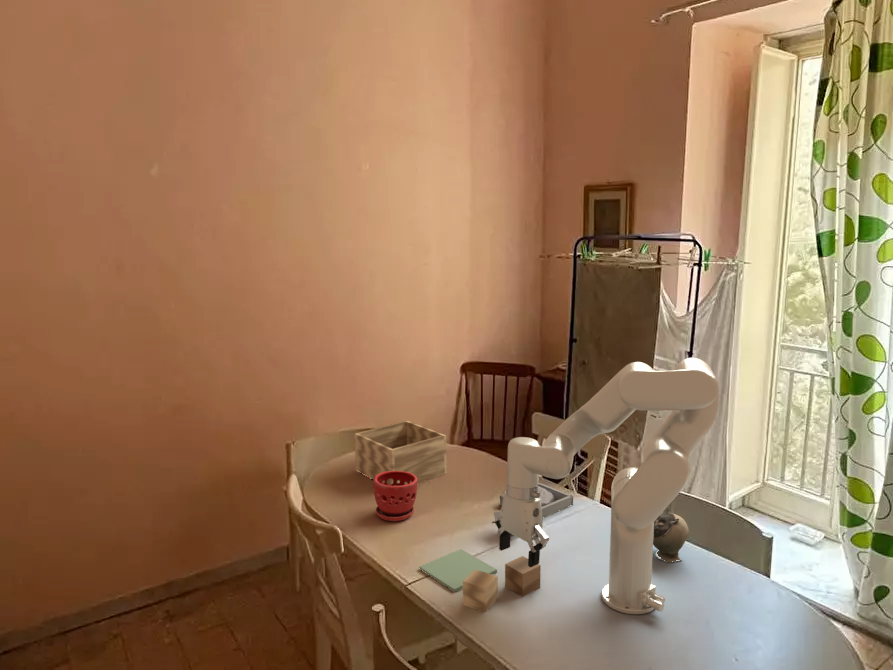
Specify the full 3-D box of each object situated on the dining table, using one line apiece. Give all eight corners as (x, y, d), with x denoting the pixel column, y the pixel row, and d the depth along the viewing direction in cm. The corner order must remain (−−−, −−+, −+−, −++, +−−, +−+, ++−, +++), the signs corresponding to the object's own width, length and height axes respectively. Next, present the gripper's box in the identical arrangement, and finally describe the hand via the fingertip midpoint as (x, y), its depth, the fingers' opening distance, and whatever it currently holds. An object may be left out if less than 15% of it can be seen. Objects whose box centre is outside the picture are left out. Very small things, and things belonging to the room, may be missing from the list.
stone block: (555, 507, 210) (531, 493, 217) (558, 494, 209) (533, 480, 215) (532, 521, 202) (507, 505, 209) (534, 508, 201) (509, 492, 207)
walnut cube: (540, 588, 162) (540, 565, 161) (522, 597, 158) (523, 573, 157) (522, 578, 166) (522, 555, 165) (505, 586, 162) (505, 564, 161)
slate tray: (573, 505, 208) (573, 495, 207) (535, 521, 197) (535, 511, 196) (537, 490, 219) (537, 481, 218) (499, 504, 208) (499, 495, 208)
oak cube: (497, 599, 157) (497, 576, 156) (485, 612, 152) (485, 588, 151) (475, 592, 160) (475, 569, 159) (462, 605, 155) (462, 581, 154)
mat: (496, 572, 169) (496, 569, 169) (454, 592, 160) (454, 589, 160) (460, 551, 180) (460, 548, 179) (419, 569, 171) (419, 566, 171)
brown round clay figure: (639, 551, 179) (666, 568, 170) (640, 509, 177) (667, 524, 168) (668, 543, 183) (696, 560, 173) (669, 502, 181) (698, 516, 172)
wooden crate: (446, 473, 235) (446, 435, 232) (392, 490, 220) (391, 450, 218) (408, 456, 252) (407, 420, 250) (355, 471, 238) (354, 433, 235)
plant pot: (392, 529, 193) (391, 489, 191) (366, 514, 203) (364, 477, 201) (426, 515, 202) (426, 477, 200) (400, 502, 212) (399, 466, 209)
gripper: (560, 498, 154) (556, 566, 157) (507, 474, 167) (504, 538, 170) (538, 506, 149) (534, 577, 152) (485, 481, 162) (483, 547, 165)
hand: (518, 556), depth 161 cm, fingers open, 9 cm apart
